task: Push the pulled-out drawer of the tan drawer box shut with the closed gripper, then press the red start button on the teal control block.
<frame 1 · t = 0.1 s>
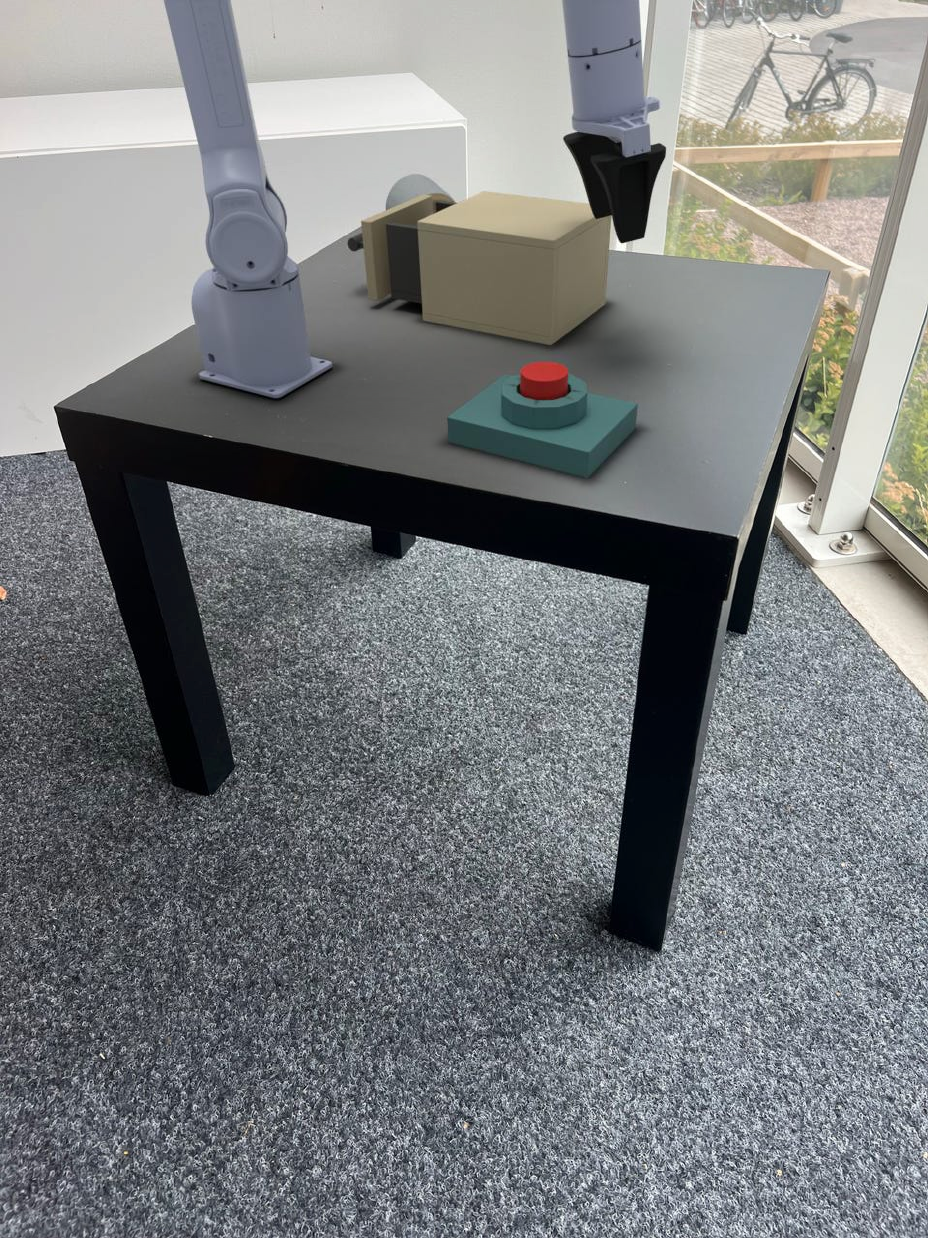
hand: (618, 227, 77), 11 cm above the table, tool pointing down, fingers open, 7 cm apart
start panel: (542, 435, 70), on the table
tan drawer box: (515, 312, 91), on the table
pulled-out drawer: (432, 251, 92), point 5 cm above the table, slide at 6.0 cm
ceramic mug: (435, 247, 110), on the table
start button: (544, 381, 67), point 4 cm above the table, slide at 0.1 cm
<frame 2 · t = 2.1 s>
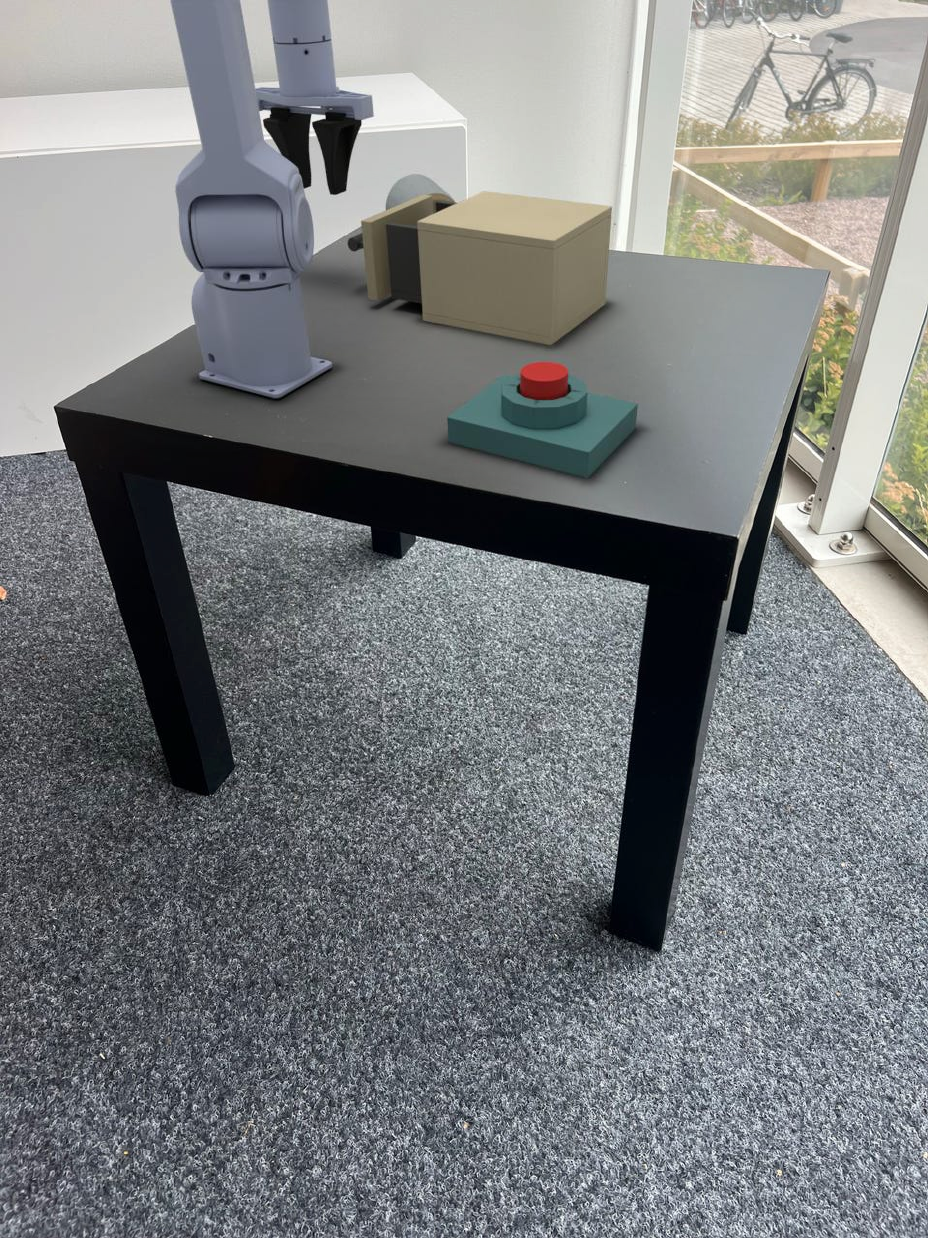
hand: (320, 190, 95), 9 cm above the table, tool pointing down, fingers open, 4 cm apart
nothing on the table moved.
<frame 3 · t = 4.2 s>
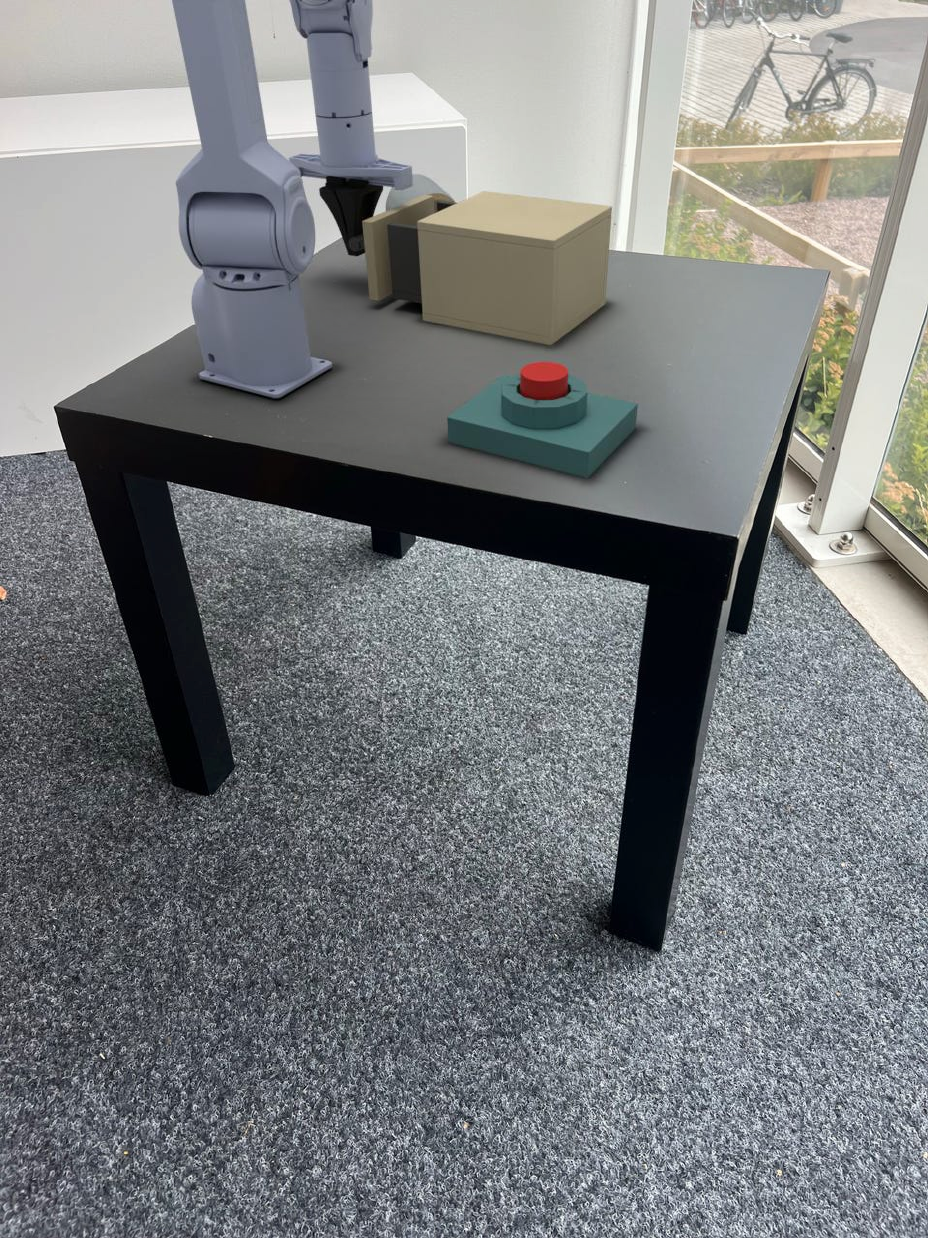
hand: (357, 253, 97), 3 cm above the table, tool pointing down, fingers closed
pulled-out drawer: (434, 251, 92), point 5 cm above the table, slide at 5.8 cm, touching gripper
everything else where it was.
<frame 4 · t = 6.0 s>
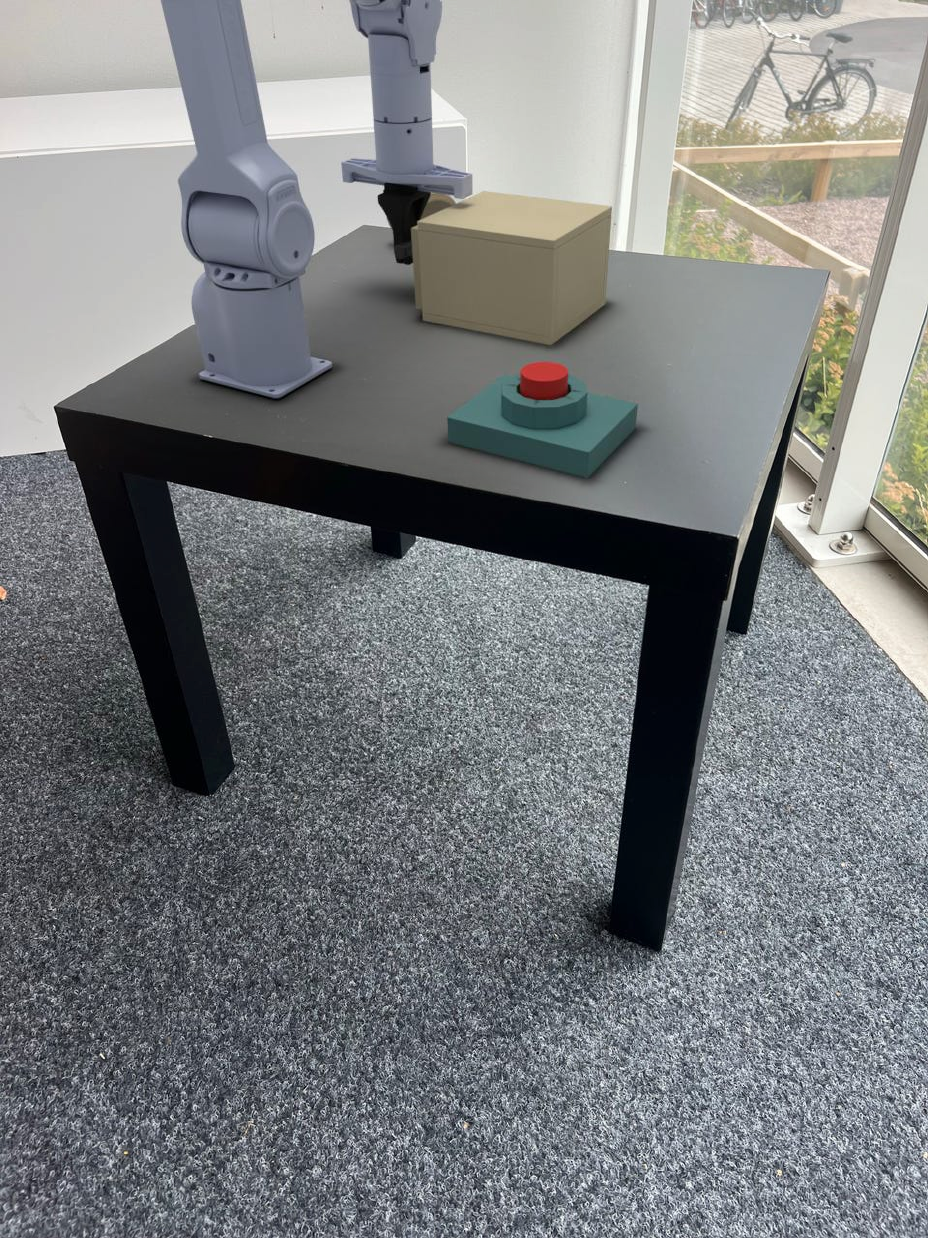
hand: (409, 261, 95), 3 cm above the table, tool pointing down, fingers closed, pressing on pulled-out drawer
pulled-out drawer: (482, 259, 90), point 5 cm above the table, slide at 0.0 cm, touching tan drawer box, gripper
everything else where it was.
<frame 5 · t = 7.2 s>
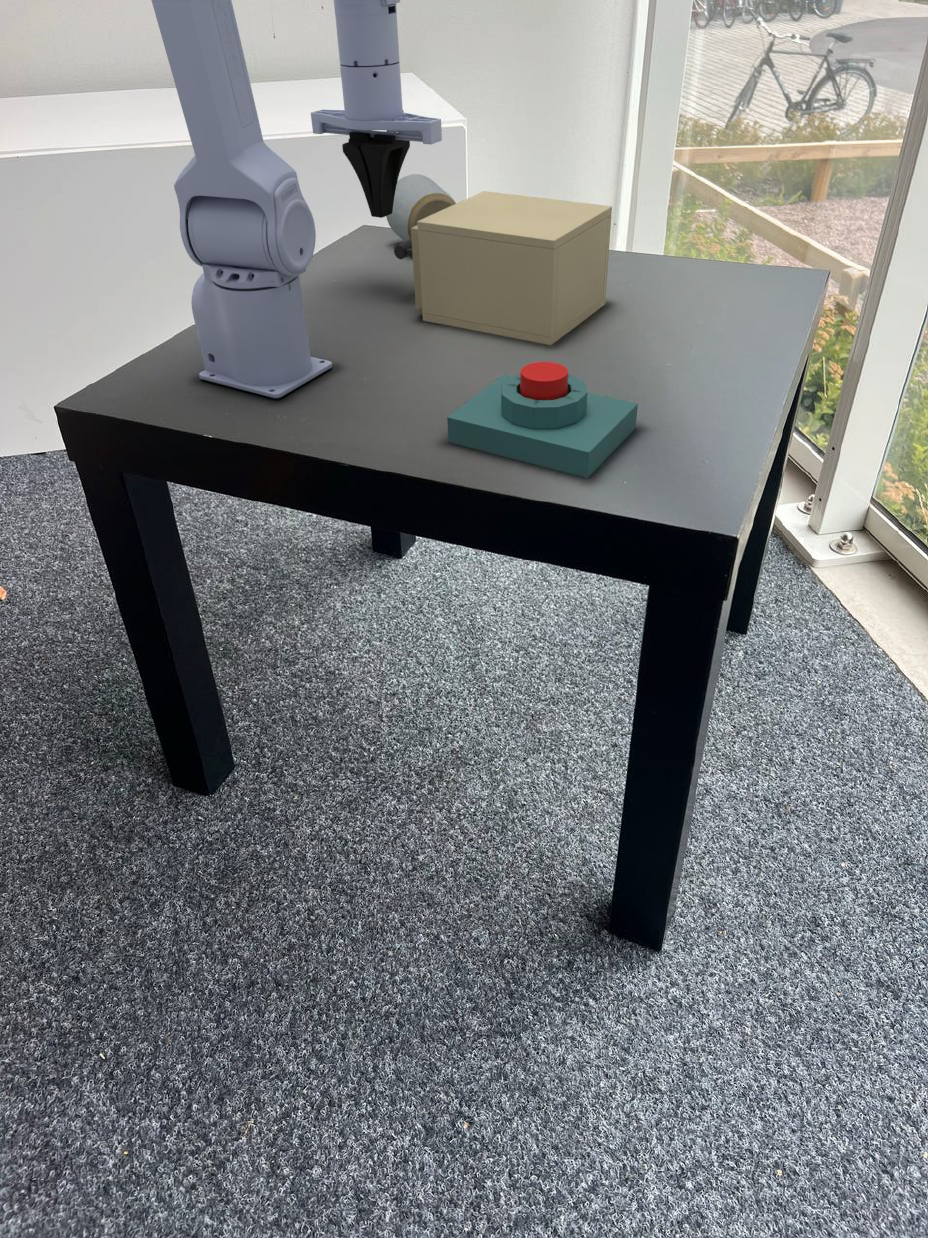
hand: (381, 214, 93), 8 cm above the table, tool pointing down, fingers closed
pulled-out drawer: (482, 259, 90), point 5 cm above the table, slide at 0.0 cm, touching tan drawer box
everything else where it was.
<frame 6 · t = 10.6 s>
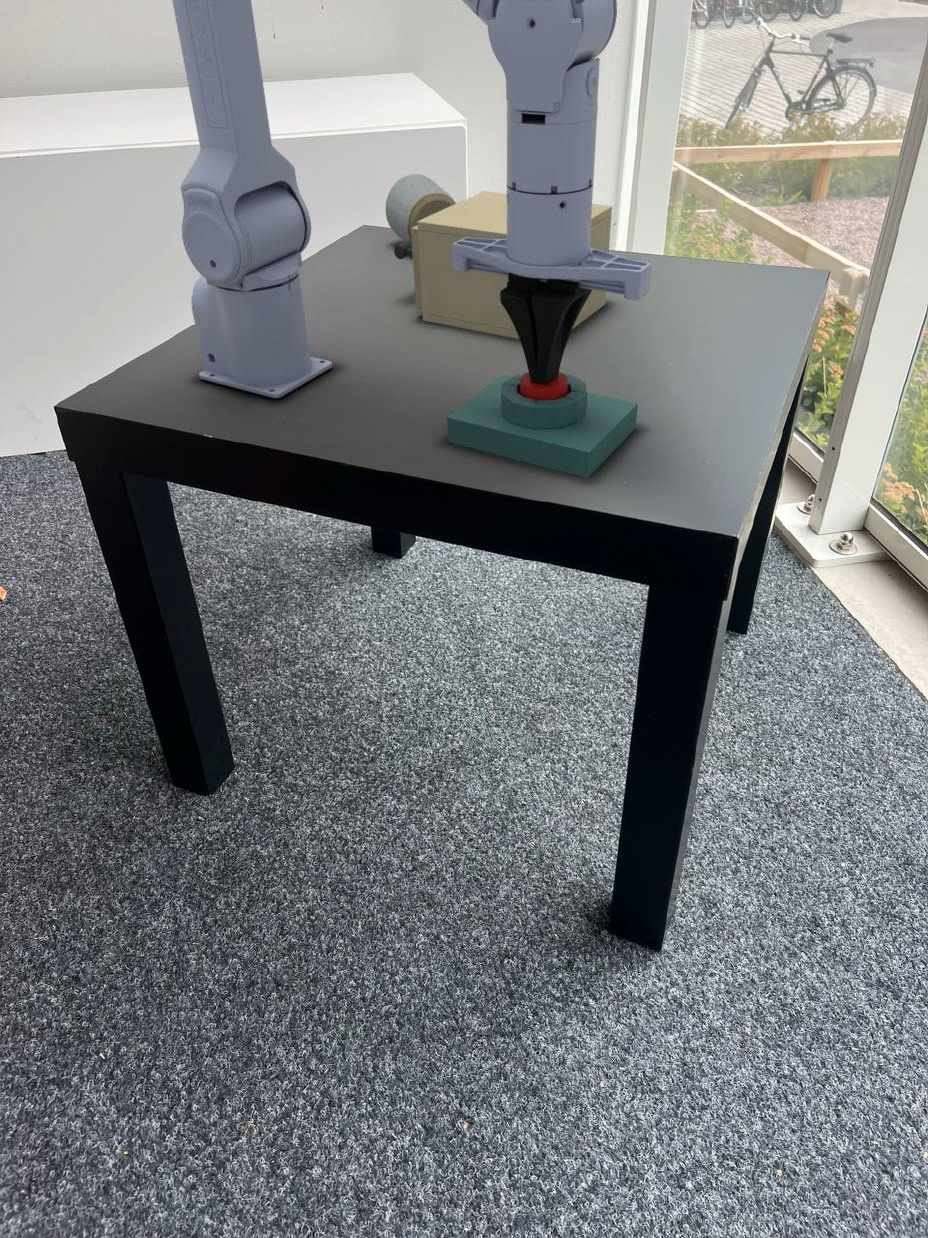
hand: (544, 379, 67), 5 cm above the table, tool pointing down, fingers closed, pressing on start button
start button: (543, 389, 67), point 4 cm above the table, slide at -0.5 cm, touching gripper
everything else where it was.
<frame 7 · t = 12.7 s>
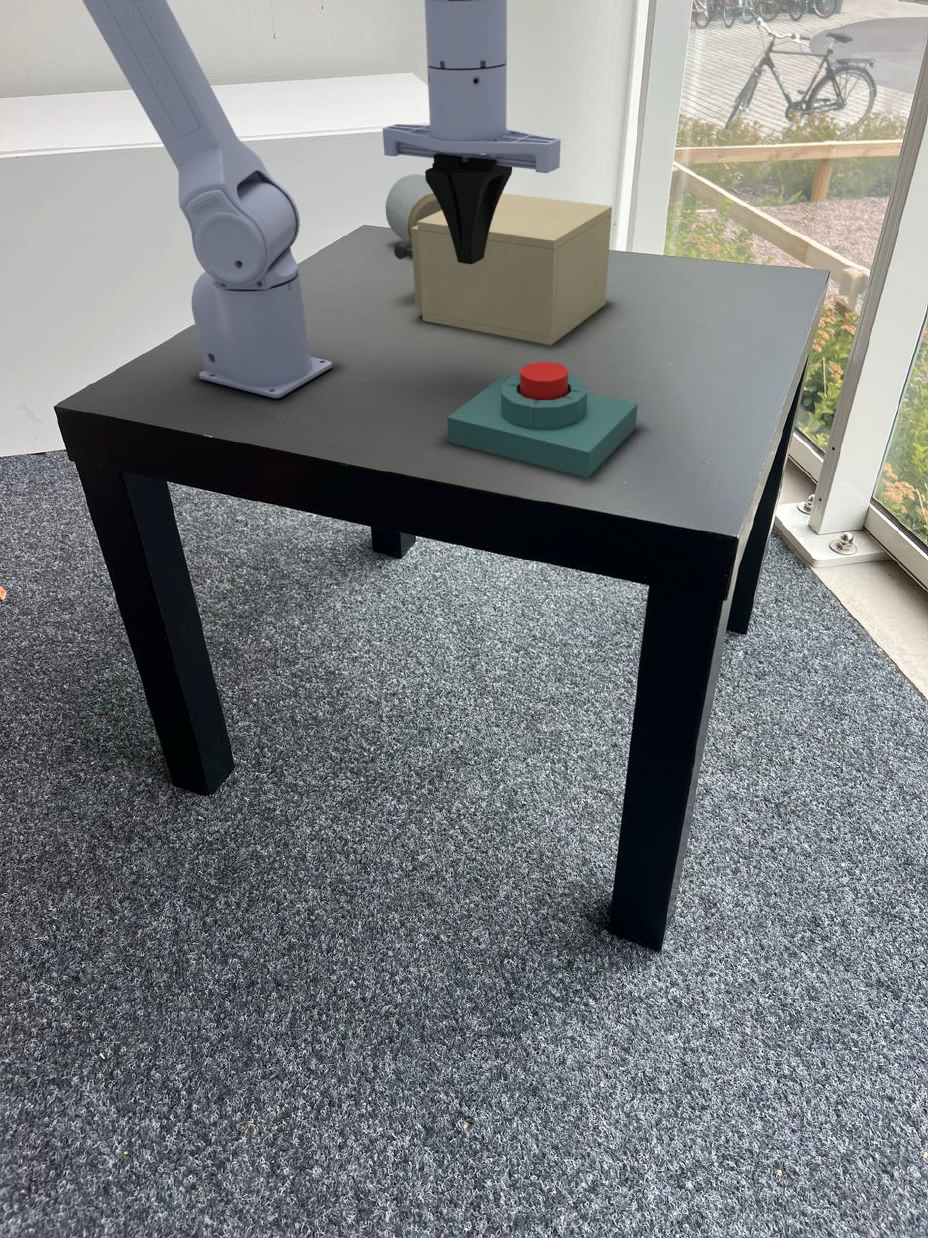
hand: (470, 260, 72), 10 cm above the table, tool pointing down, fingers closed
start button: (544, 381, 67), point 4 cm above the table, slide at 0.1 cm
everything else where it was.
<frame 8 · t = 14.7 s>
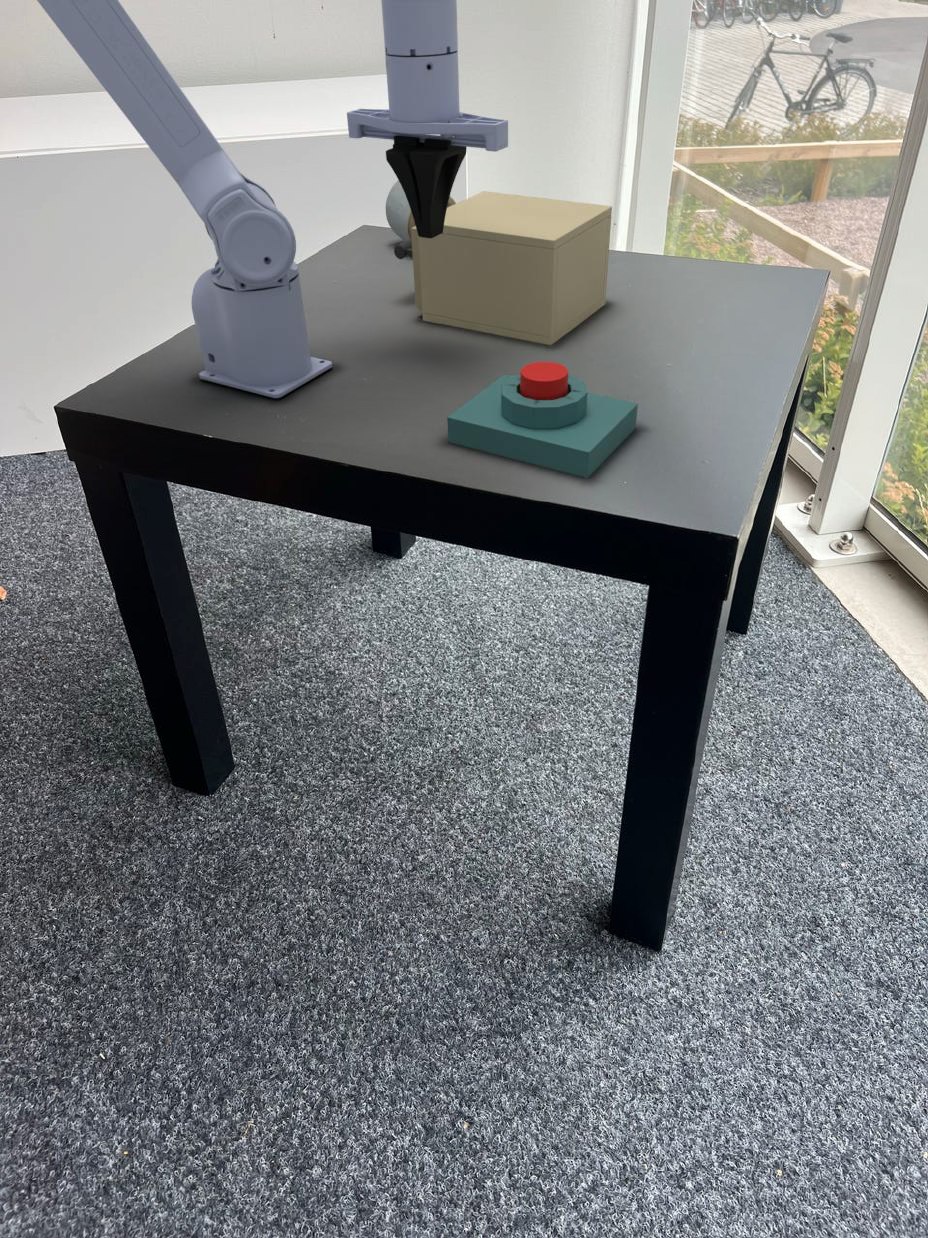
hand: (430, 234, 78), 10 cm above the table, tool pointing down, fingers closed
nothing on the table moved.
at the end: pulled-out drawer slide at 0.0 cm; start button pushed in 1.2 cm at the most during the clip, back to where it started at the end; start button slide at 0.1 cm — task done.
